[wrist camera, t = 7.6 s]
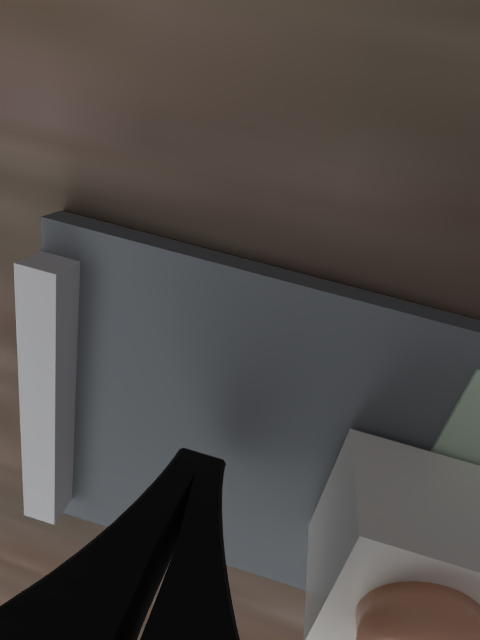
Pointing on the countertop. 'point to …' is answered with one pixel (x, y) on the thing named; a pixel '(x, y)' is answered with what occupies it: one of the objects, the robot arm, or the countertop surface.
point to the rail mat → (220, 381)
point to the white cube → (394, 546)
